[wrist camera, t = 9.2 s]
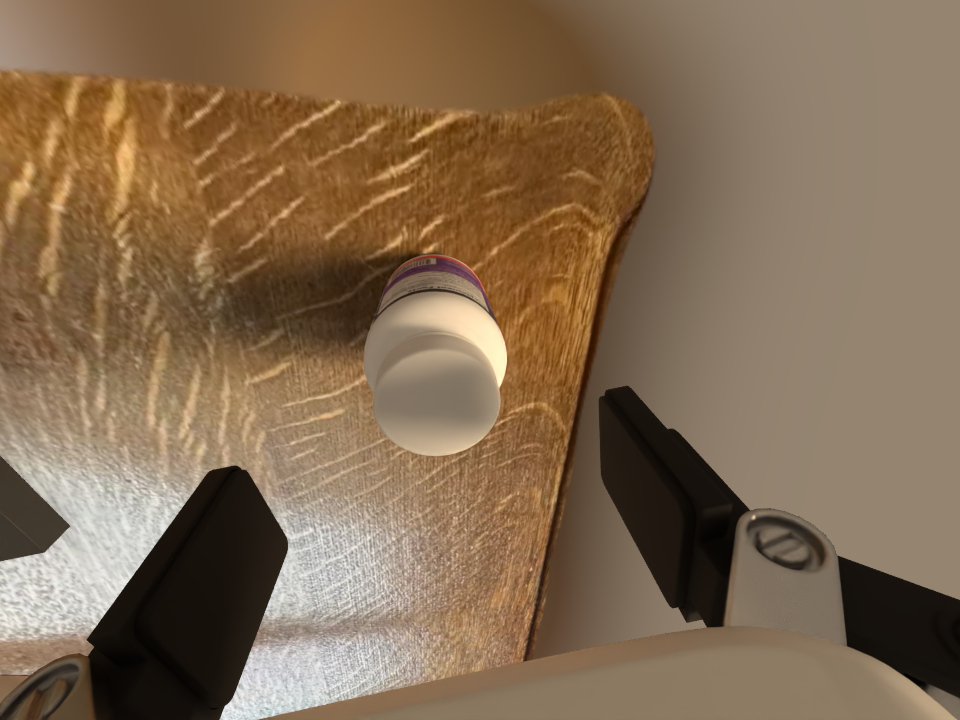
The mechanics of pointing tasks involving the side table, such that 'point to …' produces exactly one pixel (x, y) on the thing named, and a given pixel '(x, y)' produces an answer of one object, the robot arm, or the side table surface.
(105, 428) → the side table surface
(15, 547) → the black base plate
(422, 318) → the pill bottle
